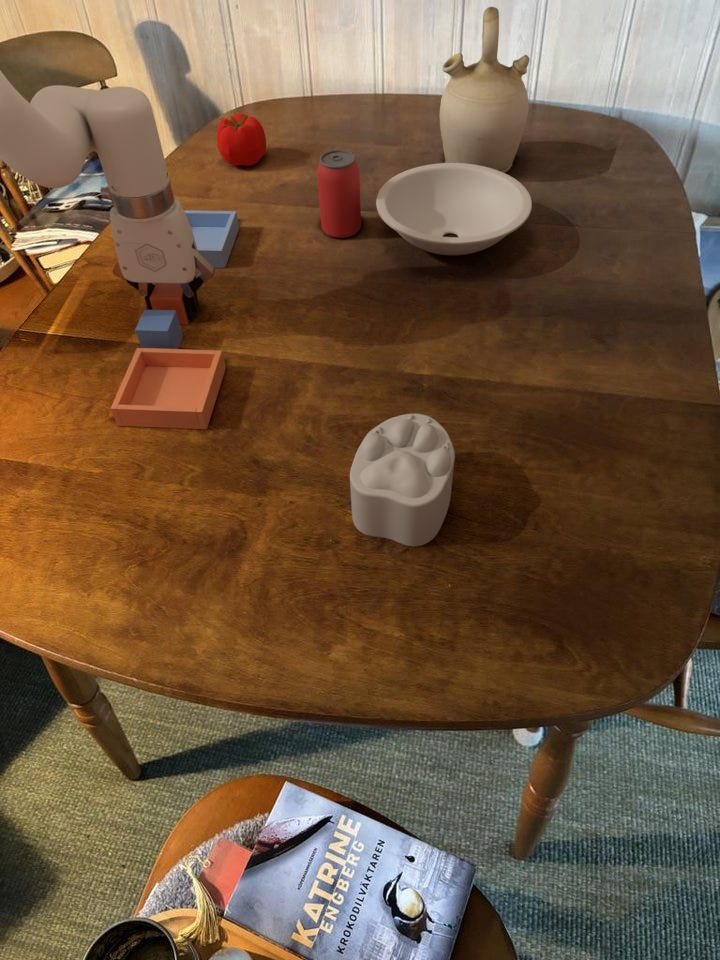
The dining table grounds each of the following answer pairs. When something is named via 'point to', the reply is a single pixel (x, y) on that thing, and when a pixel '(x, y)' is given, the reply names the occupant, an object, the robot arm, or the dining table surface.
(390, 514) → the lumpy-topped squat cylinder
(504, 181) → the vessel sink basin
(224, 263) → the blue tray
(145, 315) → the blue block
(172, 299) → the terracotta block
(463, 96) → the jug
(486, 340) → the dining table surface
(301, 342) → the dining table surface
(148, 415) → the terracotta tray
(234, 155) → the tomato
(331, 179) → the beer can
